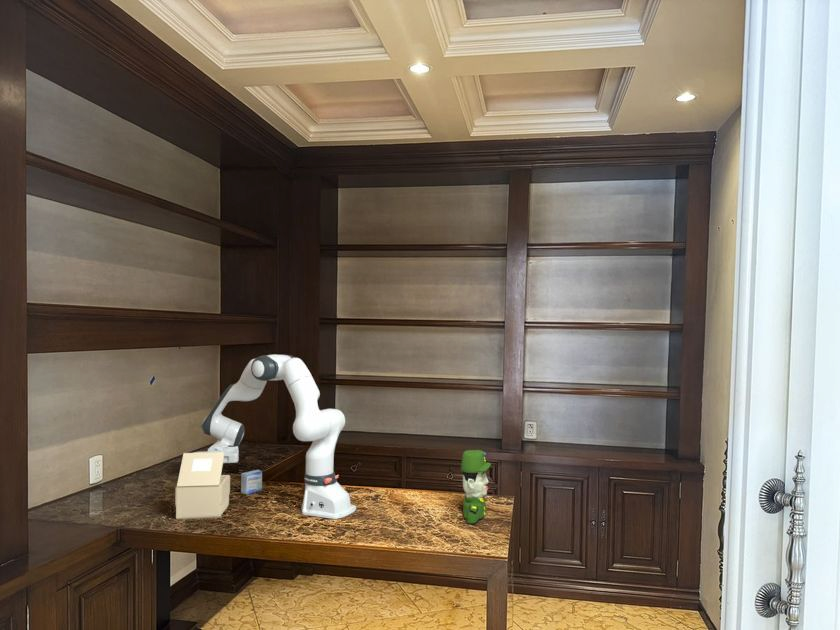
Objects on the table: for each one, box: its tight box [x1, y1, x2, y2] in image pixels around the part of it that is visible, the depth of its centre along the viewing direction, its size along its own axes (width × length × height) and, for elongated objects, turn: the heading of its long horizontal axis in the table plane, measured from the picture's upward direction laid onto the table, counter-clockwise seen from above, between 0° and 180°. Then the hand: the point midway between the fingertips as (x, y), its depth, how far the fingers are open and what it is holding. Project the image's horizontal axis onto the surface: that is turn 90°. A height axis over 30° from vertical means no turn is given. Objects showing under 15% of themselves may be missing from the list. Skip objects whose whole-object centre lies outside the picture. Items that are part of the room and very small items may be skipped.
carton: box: [174, 474, 231, 520], centre depth 207 cm, size 14×17×12 cm
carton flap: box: [176, 452, 224, 487], centre depth 203 cm, size 13×15×1 cm
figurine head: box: [460, 449, 492, 524], centre depth 205 cm, size 22×12×25 cm, turn 167°
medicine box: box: [240, 469, 263, 495], centre depth 231 cm, size 8×4×9 cm, turn 143°
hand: (208, 462), depth 213 cm, fingers closed
